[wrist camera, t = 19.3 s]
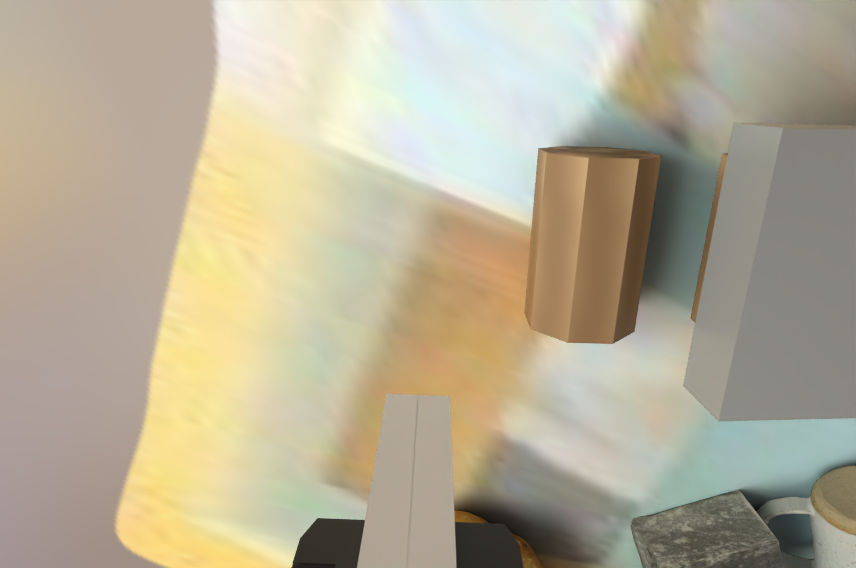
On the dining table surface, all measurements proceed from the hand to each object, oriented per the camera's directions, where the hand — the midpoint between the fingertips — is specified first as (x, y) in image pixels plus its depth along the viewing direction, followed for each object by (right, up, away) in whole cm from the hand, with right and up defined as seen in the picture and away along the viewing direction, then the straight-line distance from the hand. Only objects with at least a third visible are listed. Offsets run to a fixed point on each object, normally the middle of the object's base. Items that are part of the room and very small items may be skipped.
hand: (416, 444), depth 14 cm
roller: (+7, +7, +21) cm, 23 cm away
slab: (+23, +5, +16) cm, 28 cm away
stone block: (+21, -19, +31) cm, 42 cm away
